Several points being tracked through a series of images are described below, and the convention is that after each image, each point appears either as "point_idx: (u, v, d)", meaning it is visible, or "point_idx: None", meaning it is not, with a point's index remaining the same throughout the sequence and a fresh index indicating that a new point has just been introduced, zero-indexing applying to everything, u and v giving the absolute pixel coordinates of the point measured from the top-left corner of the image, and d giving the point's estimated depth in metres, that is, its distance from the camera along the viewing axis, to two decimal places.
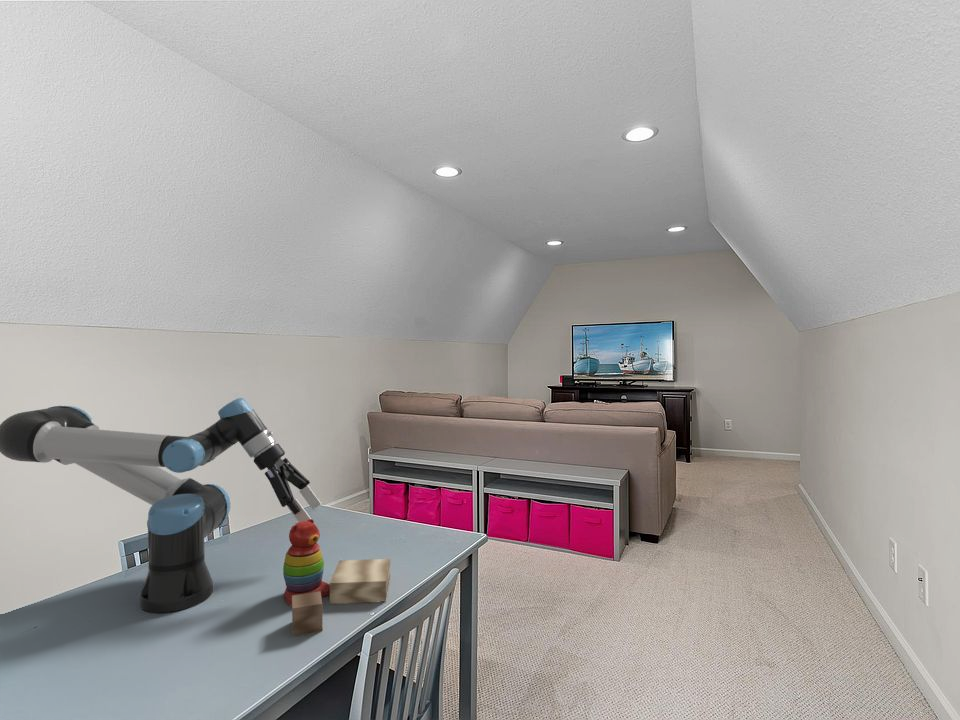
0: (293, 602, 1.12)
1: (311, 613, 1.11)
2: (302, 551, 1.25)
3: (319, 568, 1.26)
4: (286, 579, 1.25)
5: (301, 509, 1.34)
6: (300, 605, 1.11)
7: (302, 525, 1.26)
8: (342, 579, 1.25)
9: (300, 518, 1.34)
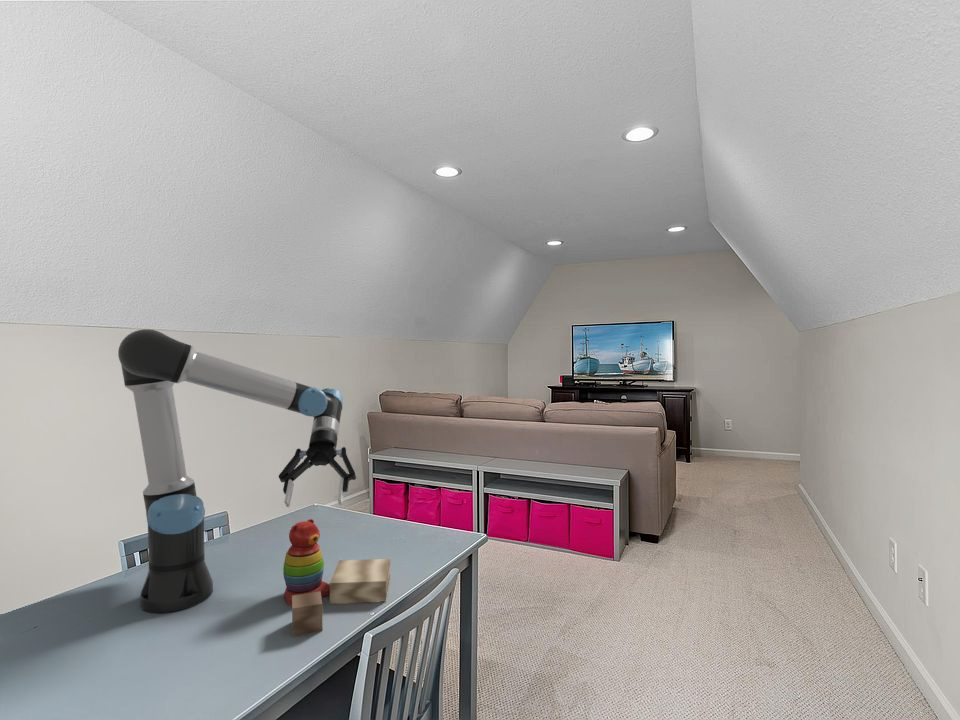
0: (293, 602, 1.12)
1: (311, 613, 1.11)
2: (302, 551, 1.25)
3: (319, 568, 1.26)
4: (286, 579, 1.25)
5: (343, 492, 1.41)
6: (300, 605, 1.11)
7: (302, 525, 1.26)
8: (342, 579, 1.25)
9: (341, 495, 1.39)
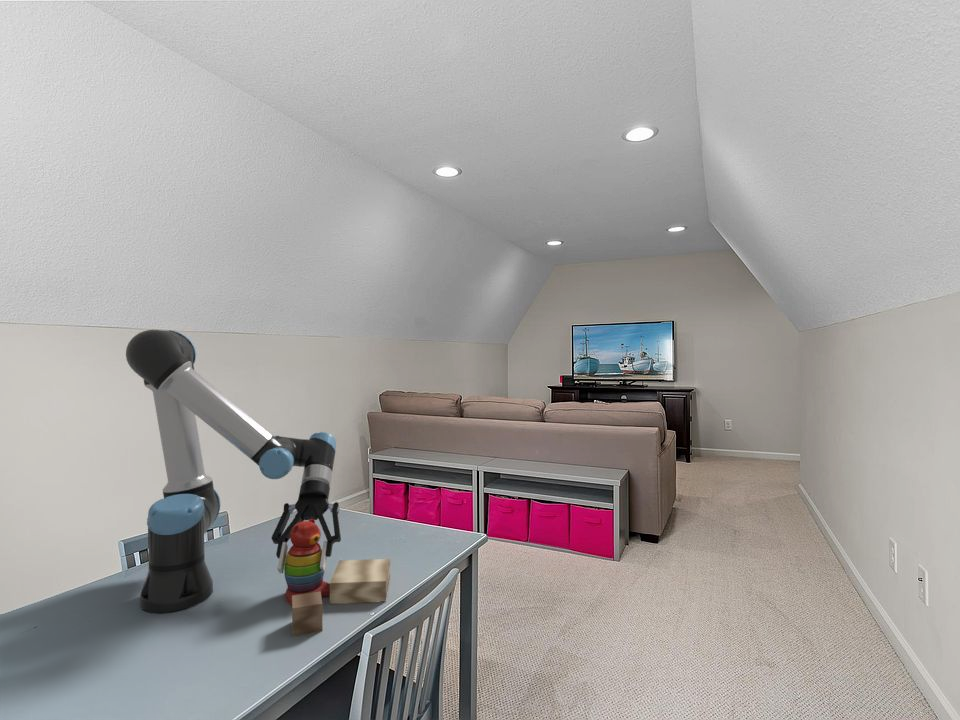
0: (293, 602, 1.12)
1: (311, 612, 1.11)
2: (303, 550, 1.25)
3: None
4: (287, 579, 1.25)
5: (326, 557, 1.28)
6: (300, 605, 1.11)
7: (303, 525, 1.26)
8: (342, 579, 1.25)
9: (324, 561, 1.26)
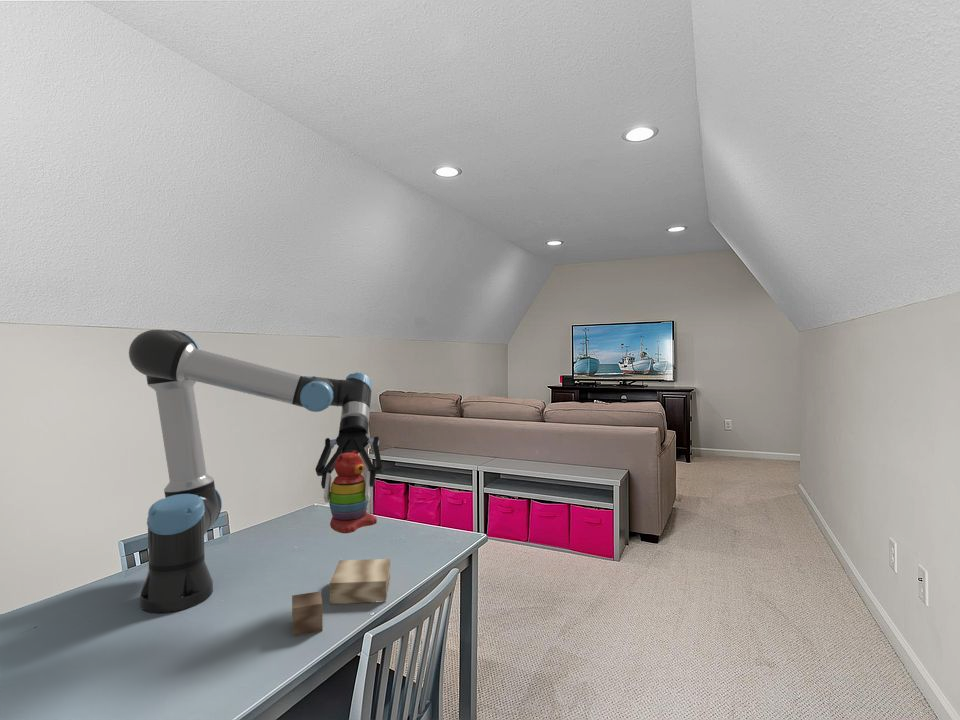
0: (293, 602, 1.12)
1: (311, 613, 1.11)
2: (348, 479, 1.26)
3: (364, 497, 1.28)
4: (333, 507, 1.26)
5: None
6: (300, 605, 1.11)
7: (347, 455, 1.27)
8: (342, 579, 1.25)
9: (369, 490, 1.27)
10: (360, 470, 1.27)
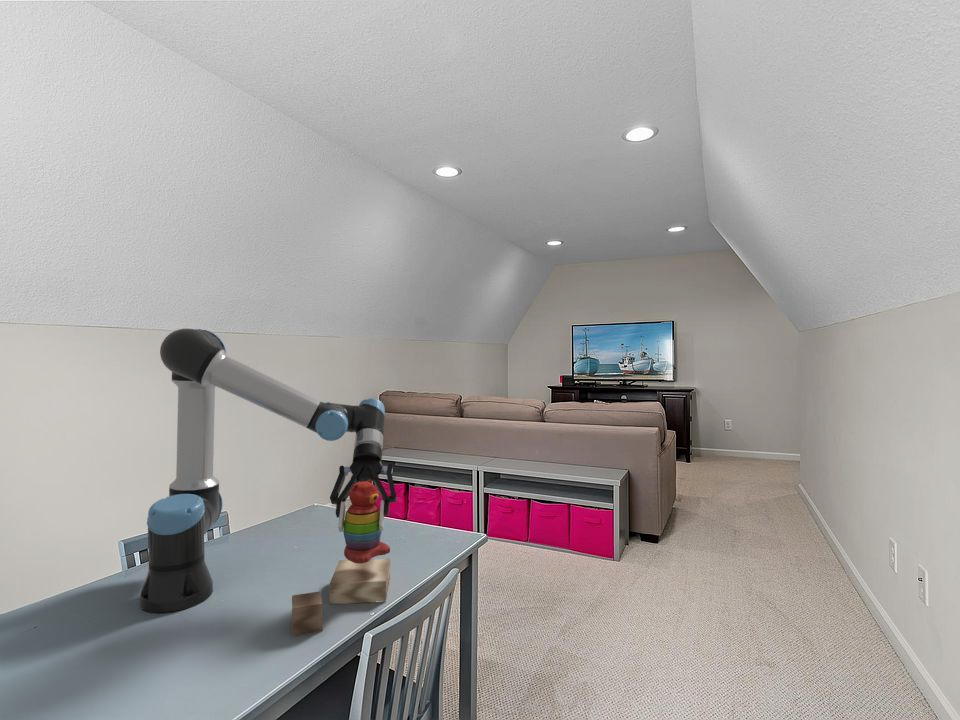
0: (293, 602, 1.12)
1: (311, 613, 1.11)
2: (362, 509, 1.27)
3: (379, 527, 1.28)
4: (347, 537, 1.27)
5: (383, 516, 1.30)
6: (300, 605, 1.11)
7: (362, 485, 1.28)
8: (342, 579, 1.25)
9: (383, 520, 1.28)
10: (375, 500, 1.28)
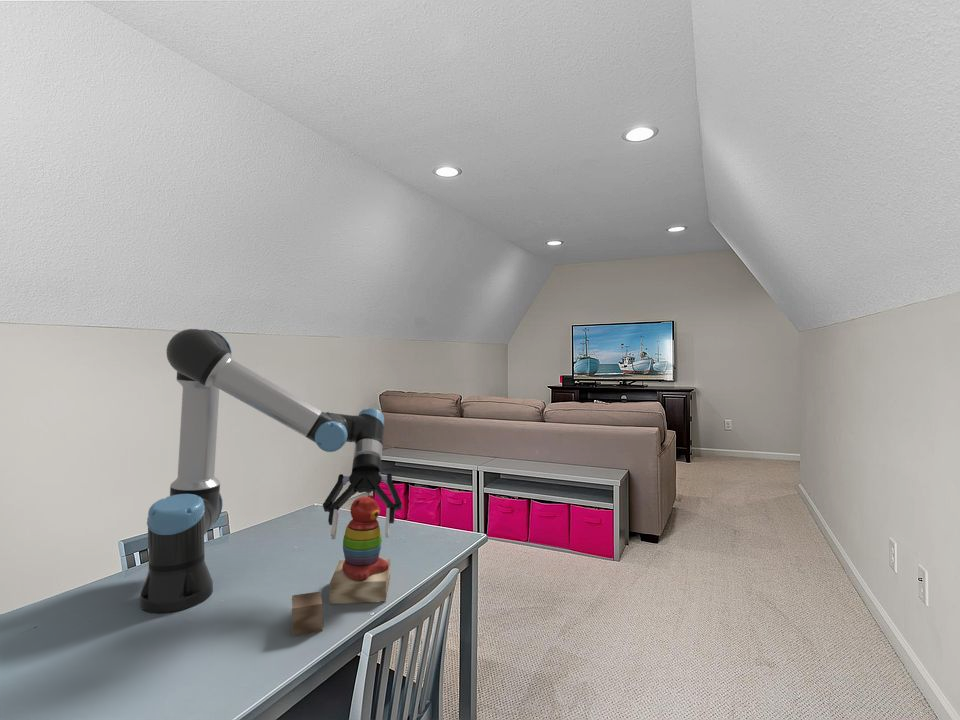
0: (293, 602, 1.12)
1: (311, 613, 1.11)
2: (363, 525, 1.27)
3: (378, 543, 1.29)
4: (346, 552, 1.27)
5: (389, 523, 1.31)
6: (300, 605, 1.11)
7: (364, 500, 1.28)
8: (342, 579, 1.25)
9: (388, 527, 1.29)
10: (376, 516, 1.28)
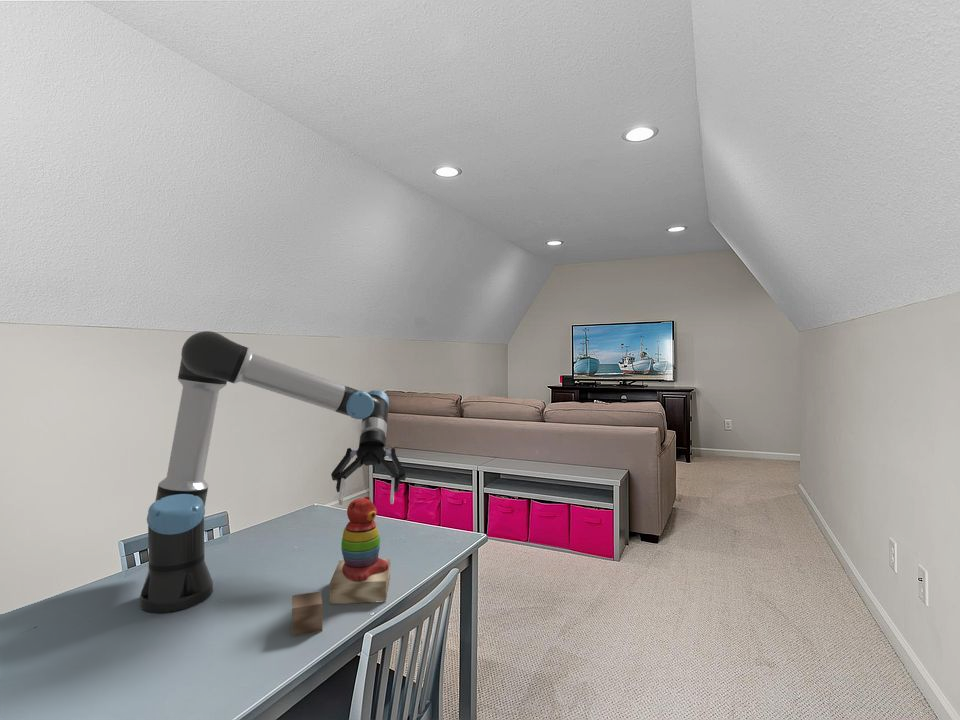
0: (293, 602, 1.12)
1: (311, 613, 1.11)
2: (360, 526, 1.27)
3: (377, 544, 1.29)
4: (345, 554, 1.27)
5: None
6: (300, 605, 1.11)
7: (360, 502, 1.28)
8: (342, 579, 1.25)
9: (393, 495, 1.42)
10: (372, 517, 1.28)
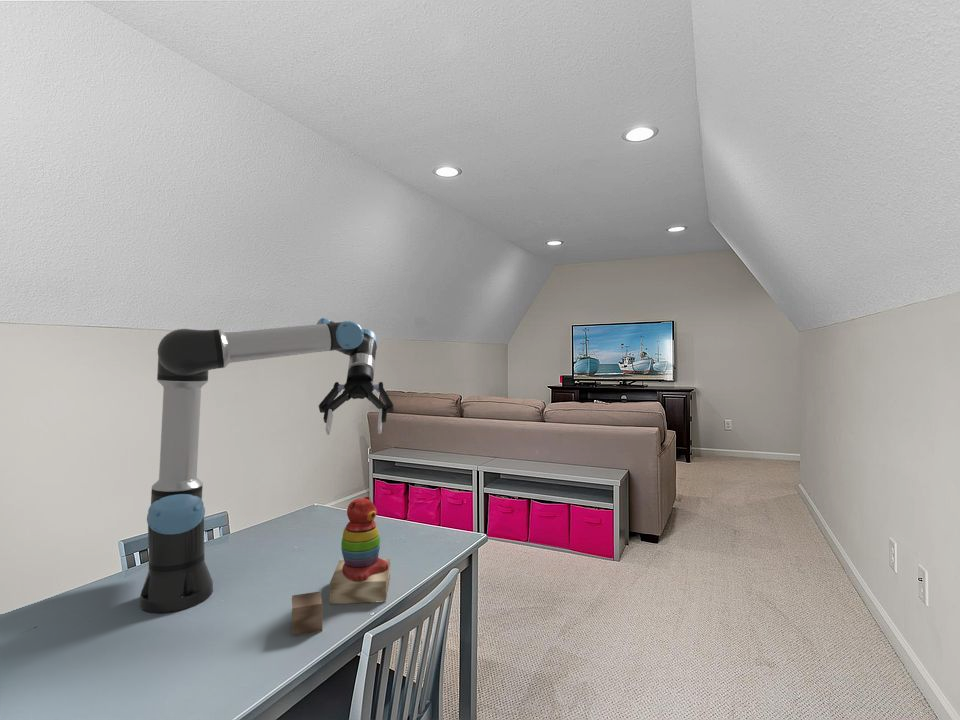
0: (293, 602, 1.12)
1: (311, 613, 1.11)
2: (360, 526, 1.27)
3: (377, 544, 1.29)
4: (345, 554, 1.27)
5: (381, 422, 1.44)
6: (300, 605, 1.11)
7: (360, 502, 1.28)
8: (342, 579, 1.25)
9: (381, 424, 1.42)
10: (372, 517, 1.28)
